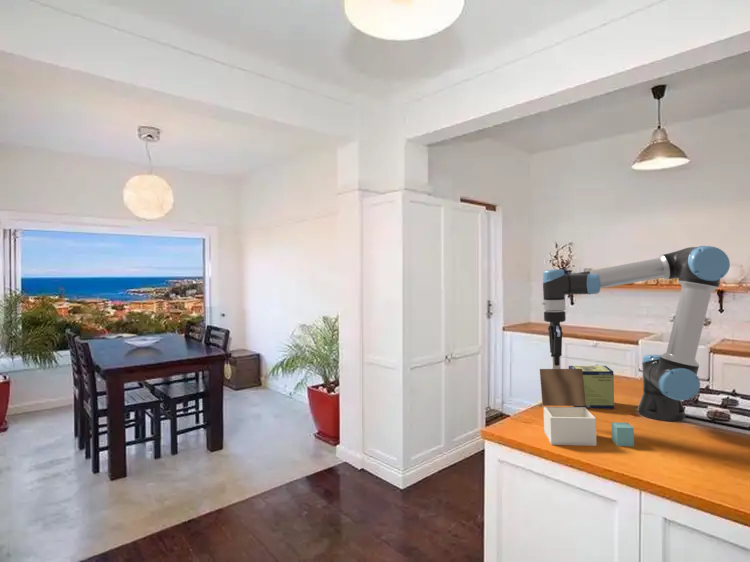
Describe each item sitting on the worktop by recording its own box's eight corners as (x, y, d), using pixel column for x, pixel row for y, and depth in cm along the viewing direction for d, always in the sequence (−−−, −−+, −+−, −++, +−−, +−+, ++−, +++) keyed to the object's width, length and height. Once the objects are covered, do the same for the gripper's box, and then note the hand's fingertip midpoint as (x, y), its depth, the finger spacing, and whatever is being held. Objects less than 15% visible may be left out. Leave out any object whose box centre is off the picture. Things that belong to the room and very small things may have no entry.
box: (590, 432, 161) (589, 404, 160) (601, 445, 148) (600, 415, 148) (539, 431, 164) (538, 403, 163) (546, 444, 151) (545, 415, 151)
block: (628, 440, 152) (627, 422, 152) (634, 446, 147) (633, 427, 147) (612, 440, 153) (611, 422, 153) (617, 445, 148) (617, 427, 148)
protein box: (615, 409, 184) (614, 370, 184) (574, 408, 188) (573, 370, 187) (607, 401, 195) (606, 365, 194) (568, 401, 198) (567, 365, 197)
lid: (585, 406, 160) (585, 405, 161) (582, 368, 163) (581, 368, 164) (542, 405, 162) (542, 405, 163) (540, 368, 165) (539, 369, 166)
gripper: (540, 309, 178) (542, 369, 179) (547, 312, 165) (549, 377, 166) (561, 309, 177) (562, 369, 178) (569, 312, 164) (571, 377, 165)
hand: (556, 373), depth 172 cm, fingers closed
